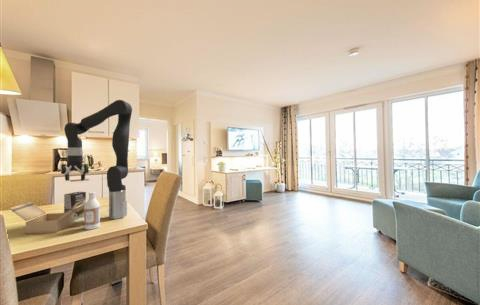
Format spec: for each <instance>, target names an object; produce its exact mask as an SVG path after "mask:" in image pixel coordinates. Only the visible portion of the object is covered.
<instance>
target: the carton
mask: <svg viewBox="0 0 480 305" xmlns="http://www.w3.org/2000/svg"><path fill="white" fill-rule="evenodd" d="M65 214H66V213H64V212H51V213H45V214H42V215H40V216H37V217H35V218H32V219H29V220H27V221H25V234H27V235H28V234H32V235H33V234H47V233H58V232H60V231H61V230H63V229H65V228H67V227H69V226H70V225H72V224H74V223H75V220H74V213H72V214H70V215H67V216H65V217H63V218H61V219H59V218H60V217H62V216H63V215H65Z"/></svg>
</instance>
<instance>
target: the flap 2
mask: <svg viewBox="0 0 480 305" xmlns="http://www.w3.org/2000/svg"><path fill="white" fill-rule="evenodd" d="M85 204H86V203H84V204H82V205H80V206H78V207H75V208H74V209H72V210H71V211H69V212H68V213H66V214H65V215H63V216H62V217H60V218H59V219H61V218H63V217H65V216H67V215H70V214H72V213H74V212H75V211H77V210H78V209H80V208H81V207H83V206H84V205H85Z"/></svg>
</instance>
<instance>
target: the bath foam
mask: <svg viewBox="0 0 480 305" xmlns="http://www.w3.org/2000/svg"><path fill="white" fill-rule="evenodd" d="M83 218H84V221H83V222H84V223H83V224H84V229H85V230H89V231H90V230H95V229H97V228H100V226H101V205H100V202H99V201H98V199H97V198H96V191H90V192H88V200H87V201H86V204H85V207H84V217H83Z"/></svg>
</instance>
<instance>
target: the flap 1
mask: <svg viewBox="0 0 480 305" xmlns="http://www.w3.org/2000/svg"><path fill="white" fill-rule="evenodd" d="M9 210H11V211H12V213H15V215H17V216H18V217H20V218H21V219H22V220H24V221H25V222H28V221H30V220H33V219H35V218H38V217H40V216H43V215H45V214H47V213H46V212H45V211H44V210H43V209H42V208H40V207H39V206H37V204H35V203H33V202H32V201H28V202H25V203H21V204H19V205H18V204H17V205H15V206H13V207H9Z"/></svg>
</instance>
